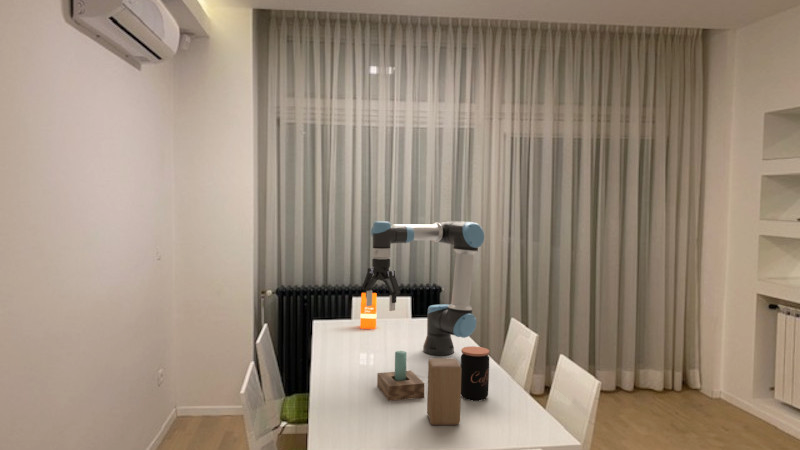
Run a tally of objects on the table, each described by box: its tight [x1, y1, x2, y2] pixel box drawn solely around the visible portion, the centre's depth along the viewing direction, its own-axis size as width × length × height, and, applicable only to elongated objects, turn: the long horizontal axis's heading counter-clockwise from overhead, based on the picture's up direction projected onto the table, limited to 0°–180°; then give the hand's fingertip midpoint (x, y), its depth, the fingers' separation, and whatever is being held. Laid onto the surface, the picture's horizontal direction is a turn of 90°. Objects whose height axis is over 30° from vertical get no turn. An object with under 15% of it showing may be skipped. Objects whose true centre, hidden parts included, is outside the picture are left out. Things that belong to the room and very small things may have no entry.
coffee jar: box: [460, 346, 490, 402], centre depth 213 cm, size 11×11×18 cm
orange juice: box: [359, 292, 378, 330], centre depth 323 cm, size 8×9×20 cm
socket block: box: [376, 370, 425, 402], centre depth 216 cm, size 14×16×6 cm
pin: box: [394, 350, 407, 381], centre depth 216 cm, size 4×4×14 cm
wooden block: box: [426, 358, 462, 426], centre depth 189 cm, size 10×10×20 cm
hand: (380, 308), depth 236 cm, fingers open, 13 cm apart
